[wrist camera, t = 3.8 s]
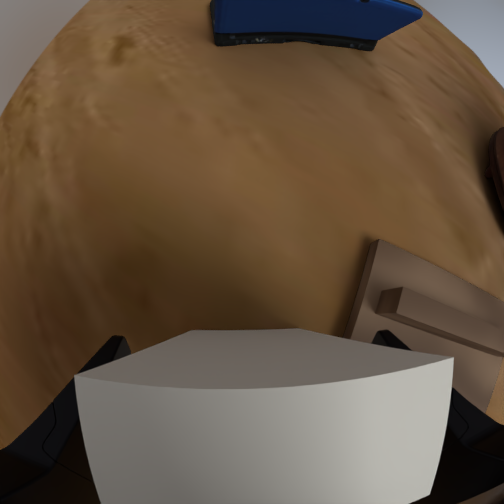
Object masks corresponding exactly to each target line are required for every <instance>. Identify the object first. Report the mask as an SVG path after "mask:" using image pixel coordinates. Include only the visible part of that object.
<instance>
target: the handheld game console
mask: <svg viewBox="0 0 504 504" xmlns="http://www.w3.org/2000/svg"><path fill="white" fill-rule="evenodd" d="M210 11H211V18H212V27H213V34H214V42H215V44H216V45H217V46H235V45H240V44H263V43H284V42H291V41H303V42H308V43H312V44H319V45H327V46H337V47H346V48H354V49H358V50H364V51H372V50H373V49H374V48H375V46H376V44H377V41H378V40H380V39H382V38H383V37H385V36H387V35H389V34H391V33H393V32H395V31H397V30H398V29H400V28H402V27H404V26H406V25H408V24H410V23H412V22H414V21H416V20H418V19H420V18H421V17H422V15H423V12H422V10H421V9H420V8H418V7H416V6H414V5H411V4H408V3H405V2H402V1H399V0H212V1H211V2H210Z"/></svg>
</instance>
